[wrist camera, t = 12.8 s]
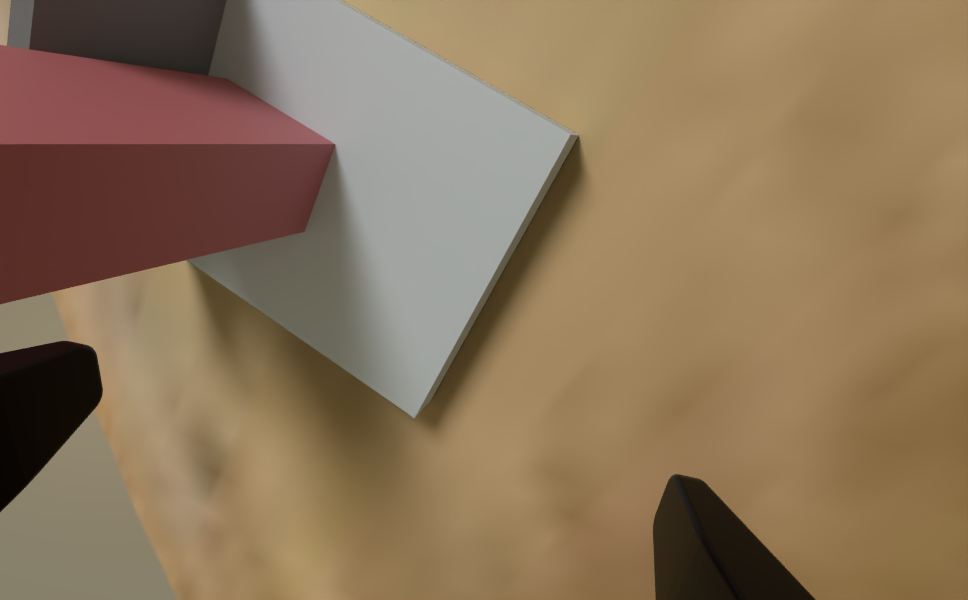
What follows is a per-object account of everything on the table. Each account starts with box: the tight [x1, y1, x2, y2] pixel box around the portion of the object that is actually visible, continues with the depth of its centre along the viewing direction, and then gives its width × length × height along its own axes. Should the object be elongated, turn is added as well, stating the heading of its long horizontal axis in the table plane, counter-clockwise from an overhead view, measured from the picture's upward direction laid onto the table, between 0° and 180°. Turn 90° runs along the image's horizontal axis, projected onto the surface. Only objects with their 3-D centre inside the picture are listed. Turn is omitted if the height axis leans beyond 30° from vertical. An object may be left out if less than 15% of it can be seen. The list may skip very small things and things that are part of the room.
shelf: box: [7, 0, 579, 418], centre depth 17 cm, size 14×12×8 cm
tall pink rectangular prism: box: [0, 45, 335, 304], centre depth 15 cm, size 5×4×11 cm
